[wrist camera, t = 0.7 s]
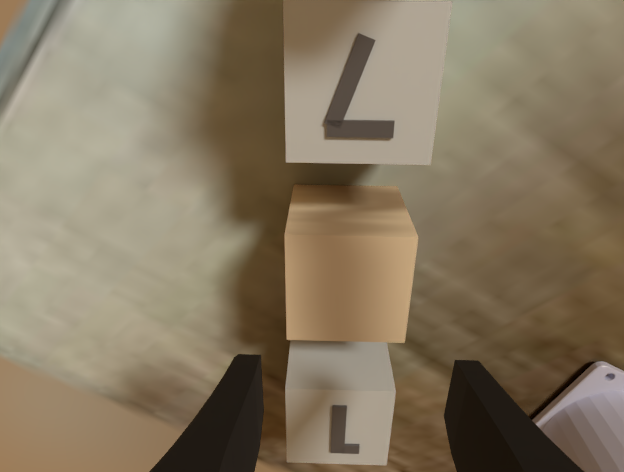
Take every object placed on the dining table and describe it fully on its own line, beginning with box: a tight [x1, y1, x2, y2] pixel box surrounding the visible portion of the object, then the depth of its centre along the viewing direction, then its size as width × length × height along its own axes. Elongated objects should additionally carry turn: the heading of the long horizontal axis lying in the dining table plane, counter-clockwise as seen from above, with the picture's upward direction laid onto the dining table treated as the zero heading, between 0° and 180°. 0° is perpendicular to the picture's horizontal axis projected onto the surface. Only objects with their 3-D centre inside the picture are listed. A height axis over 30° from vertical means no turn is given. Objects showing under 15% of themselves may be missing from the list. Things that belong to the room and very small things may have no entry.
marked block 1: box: [285, 340, 396, 465], centre depth 21 cm, size 4×4×5 cm
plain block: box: [284, 184, 418, 343], centre depth 18 cm, size 4×4×5 cm
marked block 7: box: [283, 0, 452, 165], centre depth 15 cm, size 4×4×5 cm
